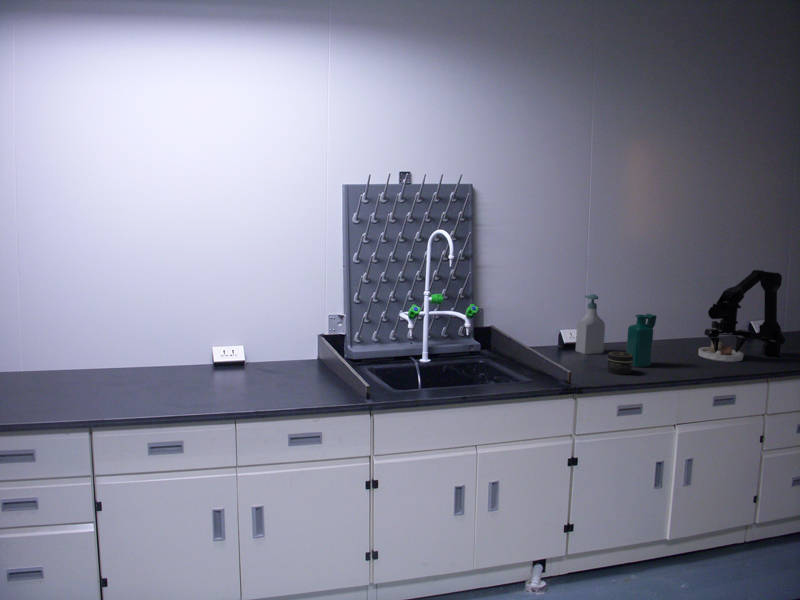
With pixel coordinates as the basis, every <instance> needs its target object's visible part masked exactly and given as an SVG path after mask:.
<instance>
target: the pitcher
mask: <svg viewBox="0 0 800 600" xmlns="http://www.w3.org/2000/svg"><path fill="white" fill-rule="evenodd" d="M634 317H635V318H636V323H635V324H632V325H629V326H628V328H627V340H626V351H625V353H629V354H632V355H633V365H632V367H634V368H646V367H648V368H649V367H650V366H651V365H652V355H653V343H654V327H655V326H656V322H657V315H655V314H652V313H646V314H636V315H634Z"/></svg>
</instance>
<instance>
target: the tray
mask: <svg viewBox="0 0 800 600" xmlns="http://www.w3.org/2000/svg"><path fill="white" fill-rule="evenodd" d="M710 350H711V346H705V347H699V348H698V354H697V355H698V357H701V358H704V359H706V360H712V361H717V362H727V363H729V362H730V363H734V362H735V363H737V362H742V361H744V360H743V359H744V357H745V356H744V353H743V352H741V351H740V350H739V351H738V352H736V349H732V355H721V351H717V352H716V353H713V352H710Z"/></svg>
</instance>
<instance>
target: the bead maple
mask: <svg viewBox="0 0 800 600" xmlns="http://www.w3.org/2000/svg"><path fill="white" fill-rule="evenodd" d="M722 343H723V342H722V341H720V340H719V344H718V350H717V351H721V346H722V345H723V344H722ZM710 347H711V350H710V352H713V353H716V352H715V349H714V346H713V343H712V340H711V342H710Z"/></svg>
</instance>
